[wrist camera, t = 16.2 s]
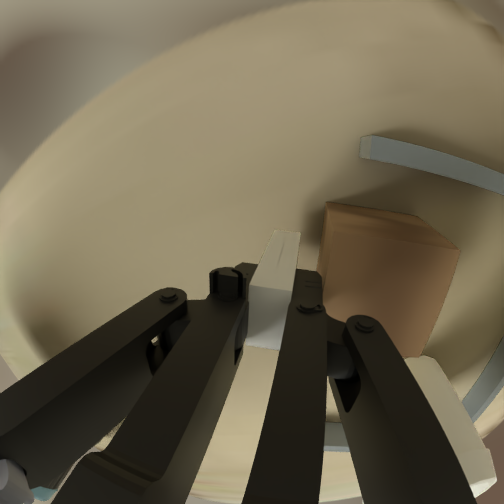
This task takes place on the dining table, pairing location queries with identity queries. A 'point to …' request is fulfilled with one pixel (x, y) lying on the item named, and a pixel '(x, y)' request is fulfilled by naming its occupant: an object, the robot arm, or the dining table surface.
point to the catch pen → (406, 154)
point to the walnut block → (385, 271)
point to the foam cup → (454, 423)
